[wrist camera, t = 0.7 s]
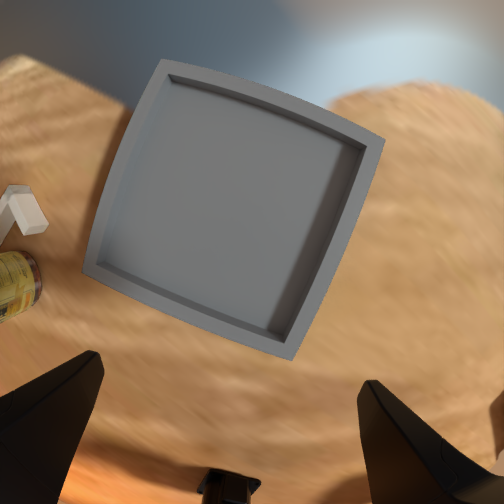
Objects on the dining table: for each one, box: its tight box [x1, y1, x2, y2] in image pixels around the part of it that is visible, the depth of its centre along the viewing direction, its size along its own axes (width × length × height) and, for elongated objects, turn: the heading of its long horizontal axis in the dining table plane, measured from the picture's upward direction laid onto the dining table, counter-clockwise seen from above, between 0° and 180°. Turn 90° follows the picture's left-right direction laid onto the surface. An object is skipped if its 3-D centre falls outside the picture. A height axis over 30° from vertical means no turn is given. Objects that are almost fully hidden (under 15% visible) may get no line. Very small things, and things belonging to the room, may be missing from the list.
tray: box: [82, 59, 385, 361], centre depth 20 cm, size 18×18×2 cm
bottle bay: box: [0, 185, 49, 246], centre depth 21 cm, size 5×13×3 cm, turn 128°
